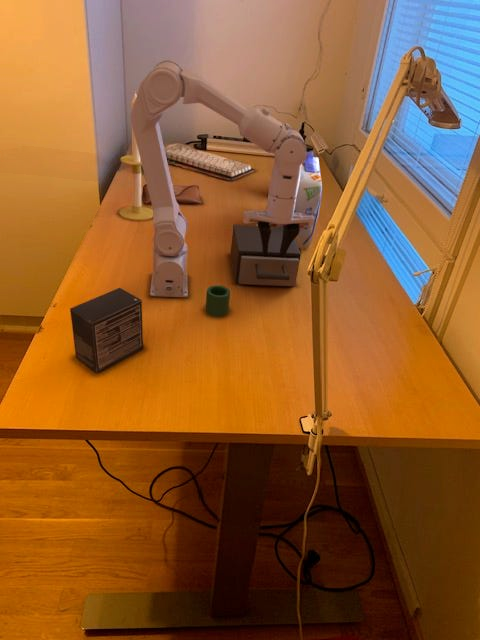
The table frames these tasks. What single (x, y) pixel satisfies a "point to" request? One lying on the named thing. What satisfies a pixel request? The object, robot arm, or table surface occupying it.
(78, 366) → the table surface
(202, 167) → the mechanical keyboard
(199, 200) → the sunglasses case
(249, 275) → the dish drawer
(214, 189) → the table surface
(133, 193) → the candle
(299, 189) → the lunch box
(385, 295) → the table surface
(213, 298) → the jar
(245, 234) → the drawer cabinet
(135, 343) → the small box
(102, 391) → the table surface
